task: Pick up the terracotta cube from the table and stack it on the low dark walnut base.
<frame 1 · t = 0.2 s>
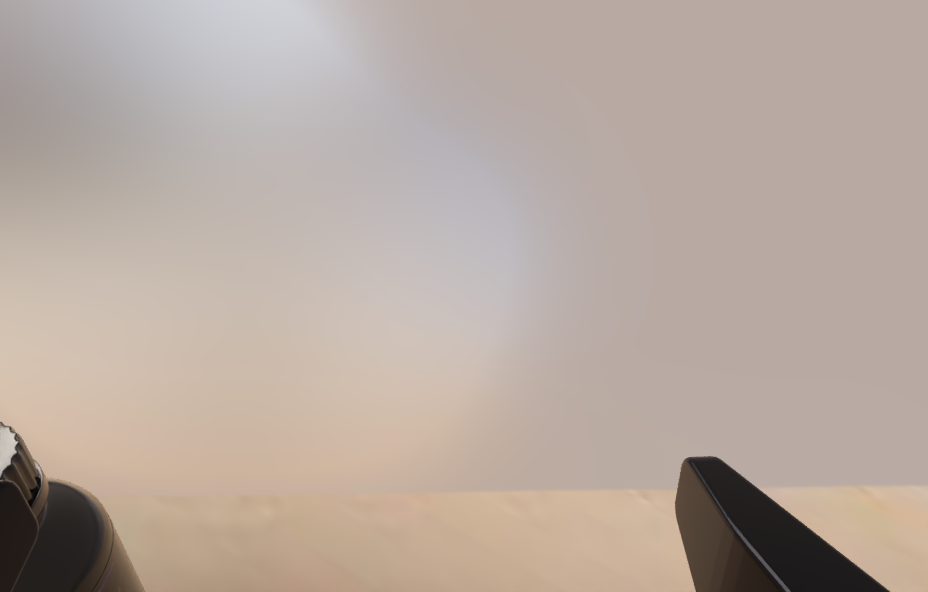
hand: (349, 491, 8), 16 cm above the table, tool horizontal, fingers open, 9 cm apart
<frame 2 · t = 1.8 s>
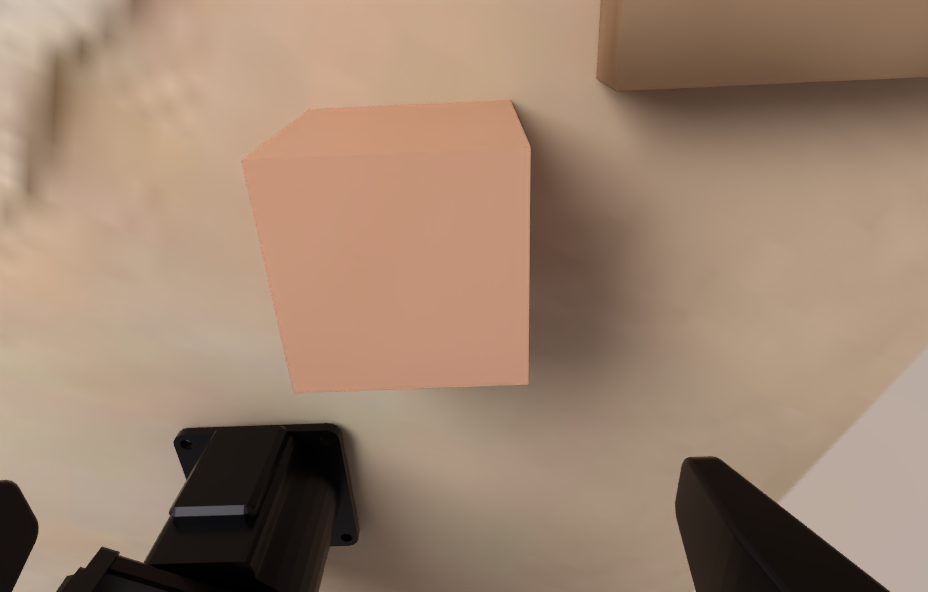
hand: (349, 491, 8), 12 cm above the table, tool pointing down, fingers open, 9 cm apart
terracotta cube: (417, 200, 19), on the table
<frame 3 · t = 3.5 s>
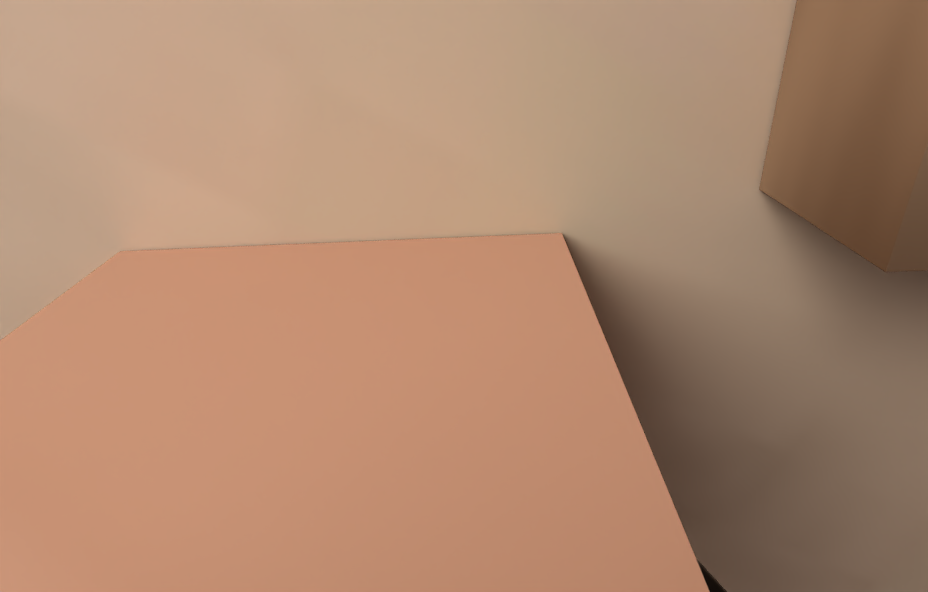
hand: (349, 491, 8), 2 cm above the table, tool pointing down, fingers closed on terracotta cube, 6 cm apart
terracotta cube: (366, 417, 9), on the table, touching gripper
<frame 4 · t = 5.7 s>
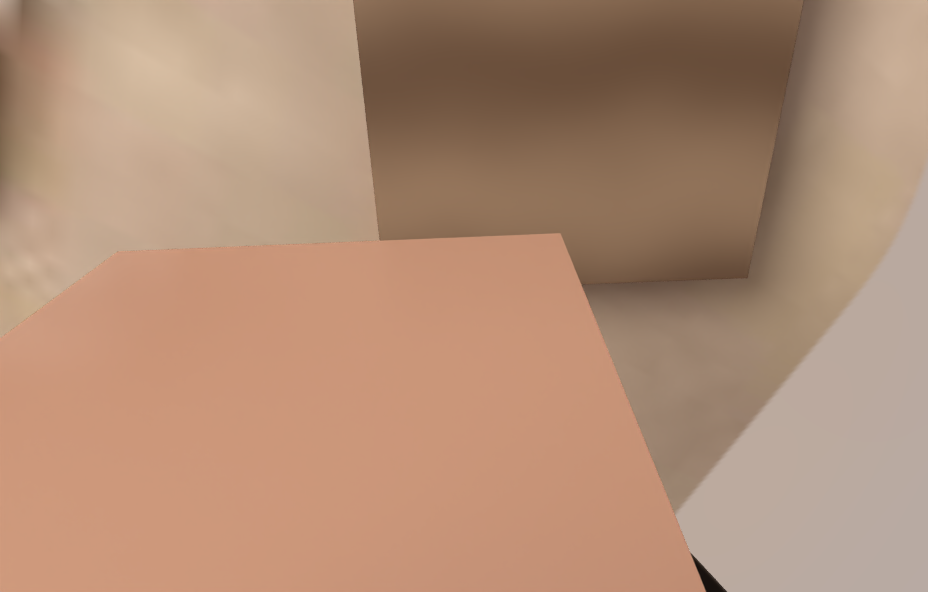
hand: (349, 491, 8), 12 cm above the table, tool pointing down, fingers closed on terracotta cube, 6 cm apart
walnut base: (559, 83, 17), on the table
terracotta cube: (364, 417, 9), point 11 cm above the table, touching gripper
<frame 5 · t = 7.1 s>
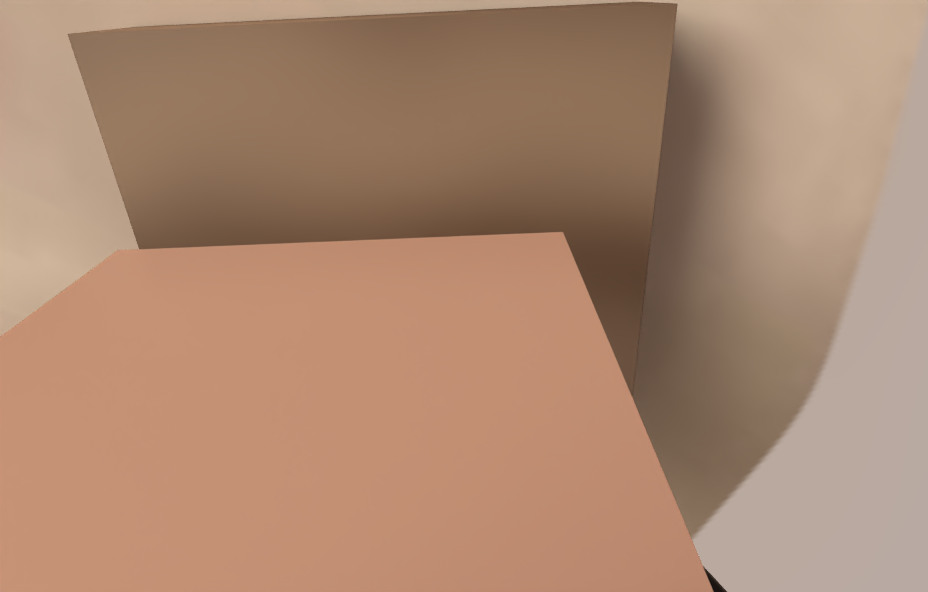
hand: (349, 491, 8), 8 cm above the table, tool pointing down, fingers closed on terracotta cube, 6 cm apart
walnut base: (408, 247, 15), on the table
terracotta cube: (366, 417, 9), point 7 cm above the table, touching gripper
when the fingers open (5 cm above the table, at t = 8.2 s): terracotta cube drops 1 cm, resting on walnut base.
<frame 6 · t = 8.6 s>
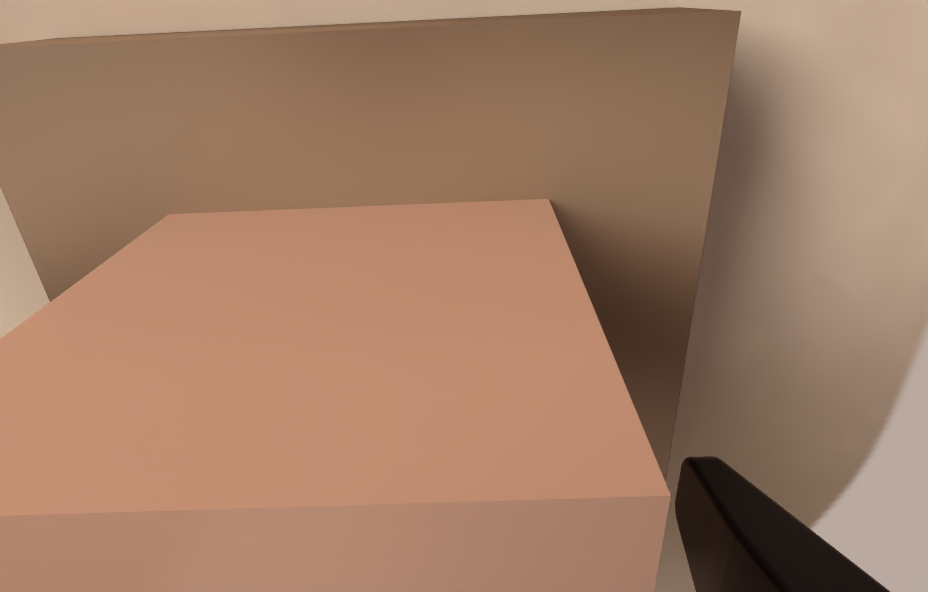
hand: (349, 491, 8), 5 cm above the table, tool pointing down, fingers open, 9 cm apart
walnut base: (395, 299, 13), on the table
terracotta cube: (378, 364, 10), point 2 cm above the table, touching walnut base
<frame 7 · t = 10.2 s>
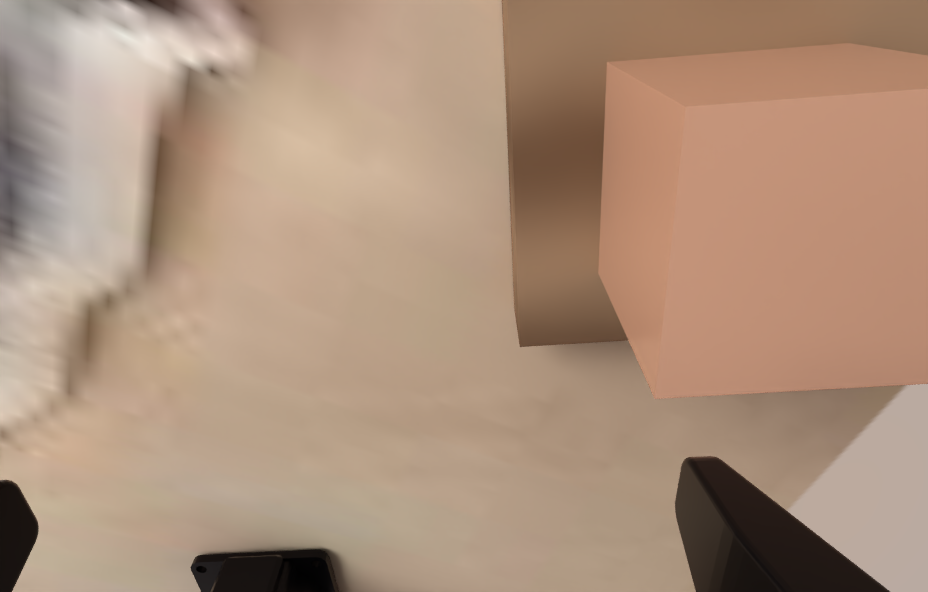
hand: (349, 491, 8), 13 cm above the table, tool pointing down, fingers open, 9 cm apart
walnut base: (683, 146, 18), on the table
terracotta cube: (711, 169, 16), point 2 cm above the table, touching walnut base
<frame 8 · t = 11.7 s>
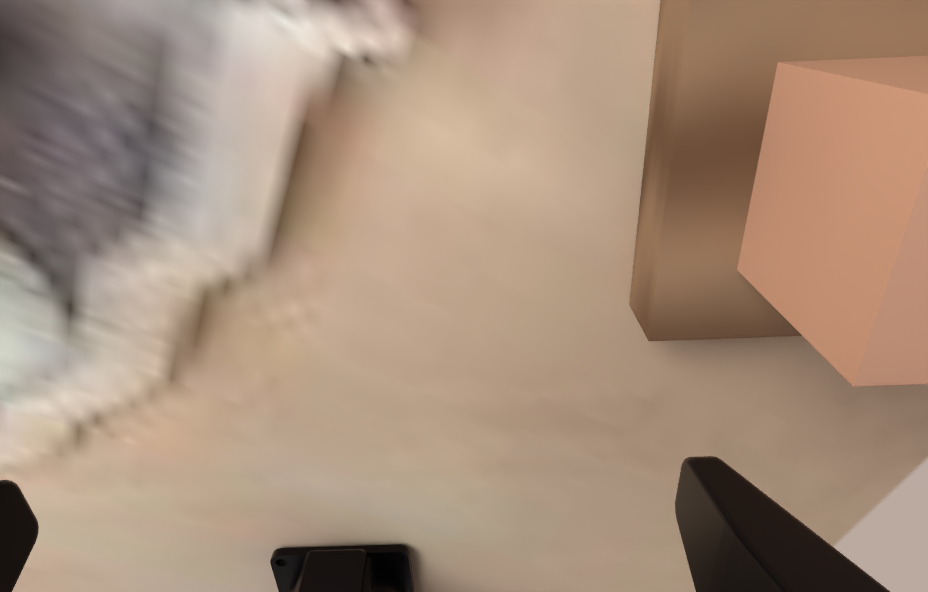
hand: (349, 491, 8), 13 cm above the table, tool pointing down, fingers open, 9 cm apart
walnut base: (815, 149, 19), on the table
terracotta cube: (861, 170, 16), point 2 cm above the table, touching walnut base
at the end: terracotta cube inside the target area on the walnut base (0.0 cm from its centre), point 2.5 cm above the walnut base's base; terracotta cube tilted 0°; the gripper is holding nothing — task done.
